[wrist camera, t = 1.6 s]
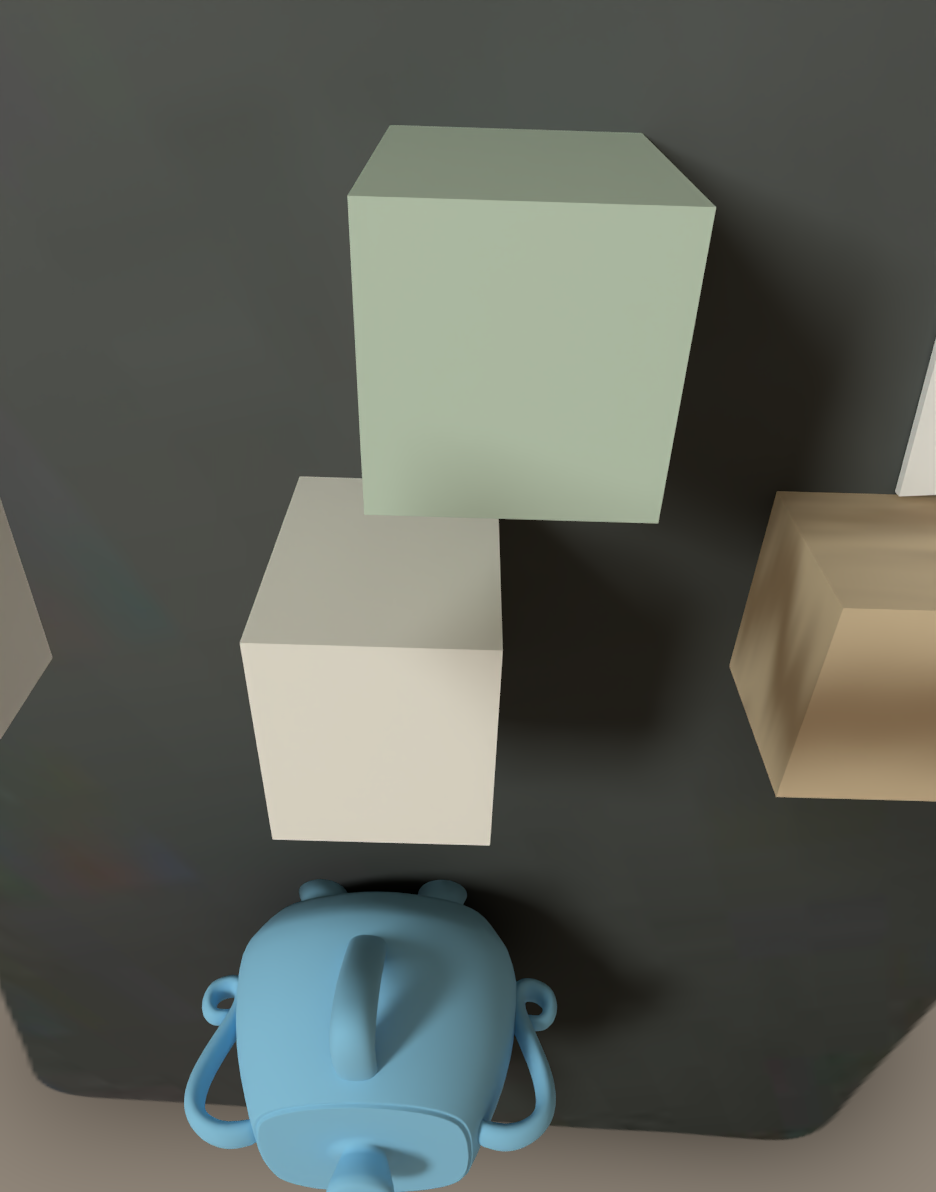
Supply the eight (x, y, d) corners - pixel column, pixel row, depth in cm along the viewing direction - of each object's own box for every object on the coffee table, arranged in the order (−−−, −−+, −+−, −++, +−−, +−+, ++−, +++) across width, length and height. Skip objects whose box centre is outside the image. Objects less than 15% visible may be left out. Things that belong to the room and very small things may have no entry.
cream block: (299, 476, 26) (239, 642, 19) (497, 481, 26) (503, 650, 20) (317, 653, 30) (272, 839, 24) (488, 658, 30) (489, 845, 24)
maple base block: (775, 490, 26) (843, 608, 21) (939, 494, 26) (1044, 613, 21) (728, 664, 30) (775, 796, 25) (869, 668, 30) (944, 801, 25)
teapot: (396, 795, 35) (349, 1075, 26) (602, 959, 41) (625, 1238, 32) (203, 909, 40) (107, 1177, 31) (410, 1041, 46) (381, 1301, 37)
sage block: (390, 125, 20) (347, 195, 14) (641, 133, 20) (716, 207, 14) (396, 368, 24) (364, 514, 17) (610, 374, 24) (658, 523, 17)
